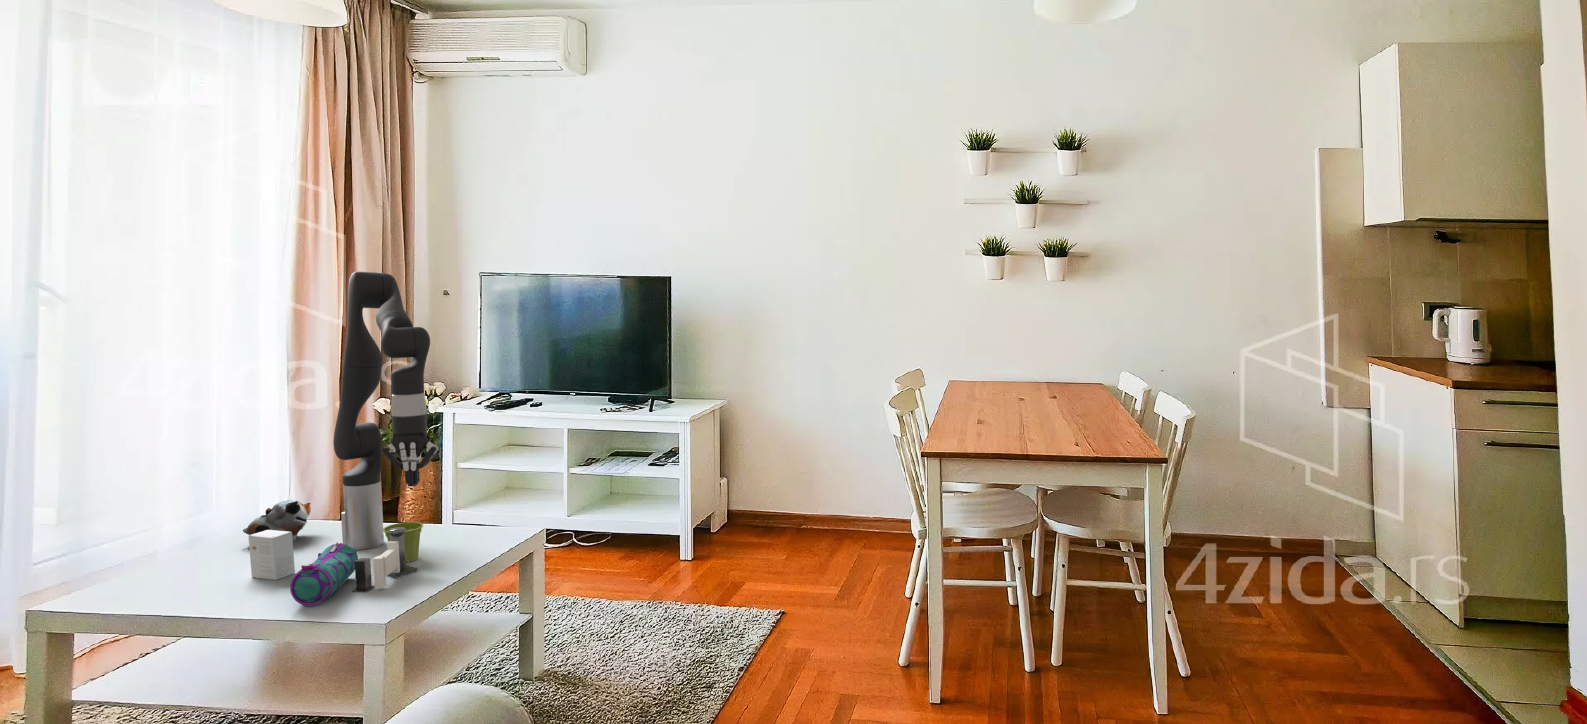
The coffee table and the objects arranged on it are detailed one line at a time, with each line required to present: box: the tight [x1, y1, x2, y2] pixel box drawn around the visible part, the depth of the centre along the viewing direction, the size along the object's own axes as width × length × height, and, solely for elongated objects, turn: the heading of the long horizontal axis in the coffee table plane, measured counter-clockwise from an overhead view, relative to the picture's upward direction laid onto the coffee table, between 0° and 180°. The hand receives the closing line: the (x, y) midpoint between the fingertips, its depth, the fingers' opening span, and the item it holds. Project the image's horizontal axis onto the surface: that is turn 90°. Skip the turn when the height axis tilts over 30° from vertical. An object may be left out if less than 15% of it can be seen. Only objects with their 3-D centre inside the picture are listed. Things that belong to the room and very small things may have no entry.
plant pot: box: [383, 521, 424, 563], centre depth 230 cm, size 9×9×9 cm
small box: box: [248, 530, 296, 581], centre depth 219 cm, size 8×6×10 cm
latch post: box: [351, 557, 375, 593], centre depth 208 cm, size 4×4×7 cm
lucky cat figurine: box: [242, 499, 312, 542], centre depth 250 cm, size 15×12×14 cm
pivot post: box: [386, 527, 419, 579], centre depth 220 cm, size 6×6×11 cm
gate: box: [372, 541, 400, 590], centre depth 212 cm, size 11×2×8 cm, turn 5°
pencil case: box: [289, 541, 359, 607], centre depth 206 cm, size 21×9×10 cm, turn 11°
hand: (412, 485), depth 212 cm, fingers closed
